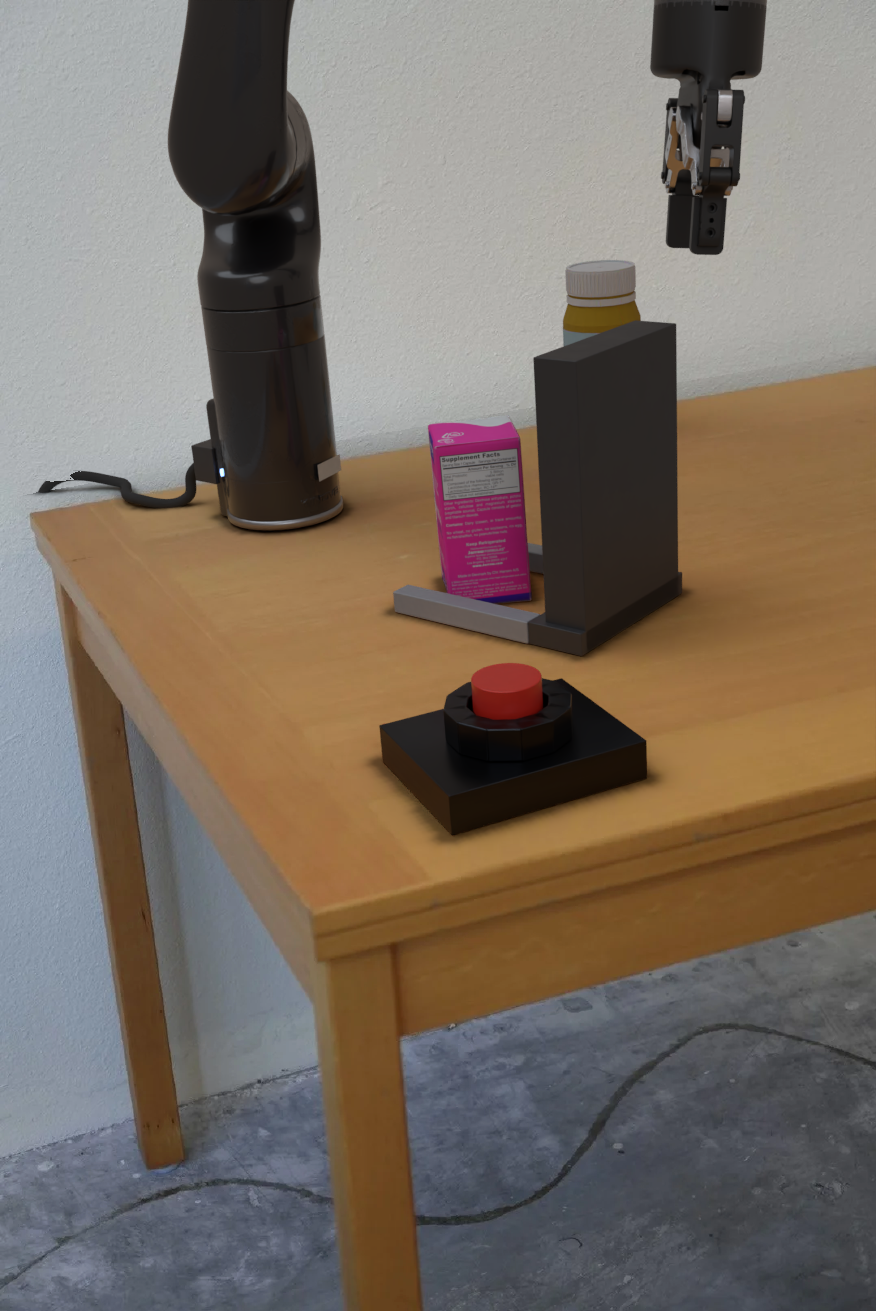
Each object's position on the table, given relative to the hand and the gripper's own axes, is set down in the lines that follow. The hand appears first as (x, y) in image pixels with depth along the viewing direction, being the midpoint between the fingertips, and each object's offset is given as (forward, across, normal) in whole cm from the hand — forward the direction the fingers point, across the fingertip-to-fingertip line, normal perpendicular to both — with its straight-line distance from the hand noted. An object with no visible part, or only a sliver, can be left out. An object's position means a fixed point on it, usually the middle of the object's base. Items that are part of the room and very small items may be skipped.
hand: (692, 251), depth 104 cm
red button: (+21, +36, -16) cm, 45 cm away
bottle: (+18, -28, -1) cm, 33 cm away
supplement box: (+22, +10, -15) cm, 29 cm away
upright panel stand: (+22, +13, -11) cm, 28 cm away
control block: (+25, +36, -15) cm, 46 cm away
